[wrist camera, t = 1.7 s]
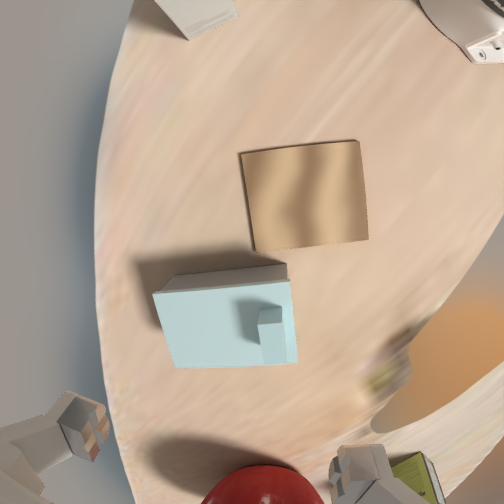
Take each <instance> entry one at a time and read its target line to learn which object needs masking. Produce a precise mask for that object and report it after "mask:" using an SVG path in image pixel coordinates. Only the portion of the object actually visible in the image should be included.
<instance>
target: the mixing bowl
mask: <svg viewBox="0 0 504 504" xmlns="http://www.w3.org/2000/svg"><path fill="white" fill-rule="evenodd" d="M201 504H324V502H323V500H322V499H321V497H320V495H319V494H318V493H317V491H316V490H315V488H314V487H313V486H312V485H311V483H310V482H309V481H308V480H307V479H306V478H305V477H303V476H302V475H300V474H298V473H297V472H294V471H292V470H289V469H286V468H283V467H279V466H273V465H257V466H251V467H247V468H242V469H239V470H237V471H234V472H232V473H230V474H229V475H227V476H226V477H224V478H223V479H222V480H221V481H220V482H219V483H218V484H217V485H216V486H215V487H214V488H213V489H212V490H211V491H210V493H209V494H208V495H207V496H206V497H205V499H204V500H203V501H202V503H201Z"/></svg>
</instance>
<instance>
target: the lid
mask: <svg viewBox="0 0 504 504" xmlns="http://www.w3.org/2000/svg"><path fill="white" fill-rule="evenodd" d="M152 295H153V299H154V302H155V306H156V309H157V313H158V316H159V319H160V323H161V326H162V329H163V332H164V335H165V339H166V342H167V345H168V348H169V351H170V354H171V357H172V360H173V363H174V365H175V368H223V367H247V366H264V365H278V364H289V363H298V354H297V343H296V333H295V323H294V314H293V304H292V295H291V286H290V279H282V280H273V281H263V282H254V283H244V284H234V285H224V286H213V287H202V288H191V289H179V290H167V291H155V292H154V293H153V294H152Z"/></svg>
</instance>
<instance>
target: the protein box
mask: <svg viewBox="0 0 504 504" xmlns="http://www.w3.org/2000/svg"><path fill="white" fill-rule="evenodd" d="M391 470H392V474H393V477H394V478H398V479H400V480H401V481H402V482H403V483H405V484H406V485H407V486H408V487H410V488H411V489H412V490H413V491H415V492H416V493H417V494H418V495H420V496H421V497H422V498H423V499H425V500H426V501H427V502H429V503H430V504H446V501H445V498H444V495H443V492H442V489H441V486H440V483H439V480H438V477H437V474H436V471H435V468H434V466H433V463H432V462H431V461H430V460H429V459H428V458H427V457H426V456H425V455H424V454H423V453H422V452H419V453H417V454H415V455H414V456H412V457H410V458H408V459H406V460H404V461H403V462H401V463H399V464H397V465H395V466H393V467H391Z"/></svg>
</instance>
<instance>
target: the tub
mask: <svg viewBox="0 0 504 504" xmlns="http://www.w3.org/2000/svg"><path fill="white" fill-rule="evenodd" d="M282 279H288V271H287V263H286V264H278V265H269V266H260V267H251V268H242V269H232V270H223V271H214V272H204V273H194V274H185V275H175V276H173V277H172V278H171V280H170V281H169V282H168V283H167V284H166V285H165V286H164V287H163V288H162V289H161V291H167V290H179V289H191V288H202V287H213V286H224V285H234V284H244V283H254V282H263V281H273V280H282Z"/></svg>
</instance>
